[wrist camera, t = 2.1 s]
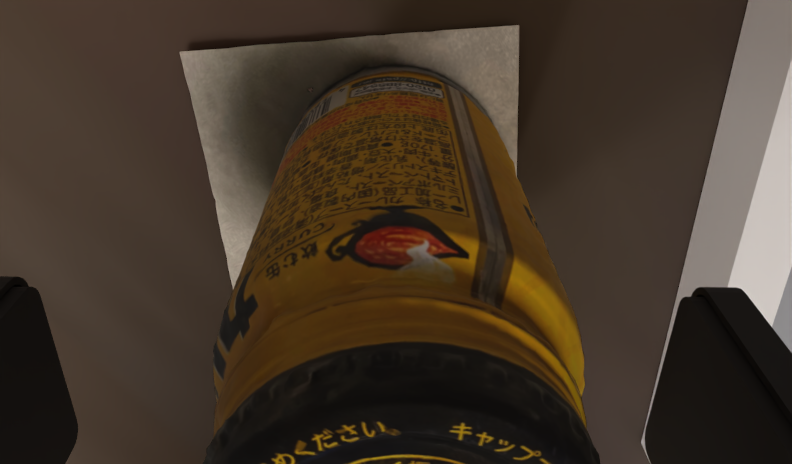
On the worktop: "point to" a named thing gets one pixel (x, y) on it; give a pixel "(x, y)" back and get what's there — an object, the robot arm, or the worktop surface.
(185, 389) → the worktop surface
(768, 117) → the housing
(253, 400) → the condiment
